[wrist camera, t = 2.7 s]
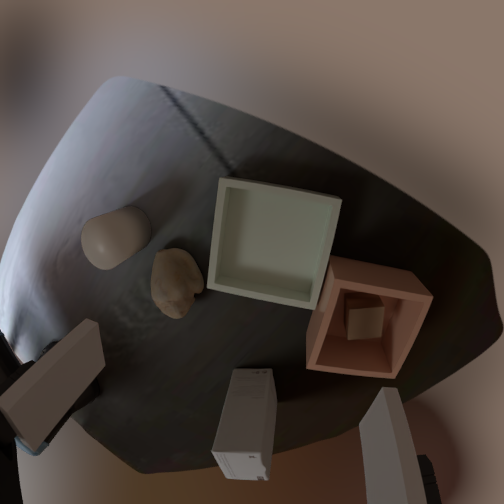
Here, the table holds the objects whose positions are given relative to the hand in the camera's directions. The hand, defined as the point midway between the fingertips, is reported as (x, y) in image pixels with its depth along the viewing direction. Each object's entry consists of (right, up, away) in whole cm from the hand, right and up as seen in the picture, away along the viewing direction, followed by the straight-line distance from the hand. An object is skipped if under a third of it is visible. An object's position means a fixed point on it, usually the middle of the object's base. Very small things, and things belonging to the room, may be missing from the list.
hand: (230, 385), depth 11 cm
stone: (-8, +3, +25) cm, 26 cm away
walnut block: (+14, -1, +21) cm, 26 cm away
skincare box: (+2, -15, +29) cm, 32 cm away
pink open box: (+14, -1, +22) cm, 26 cm away
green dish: (+3, +7, +21) cm, 23 cm away
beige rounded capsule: (-15, +9, +24) cm, 29 cm away
